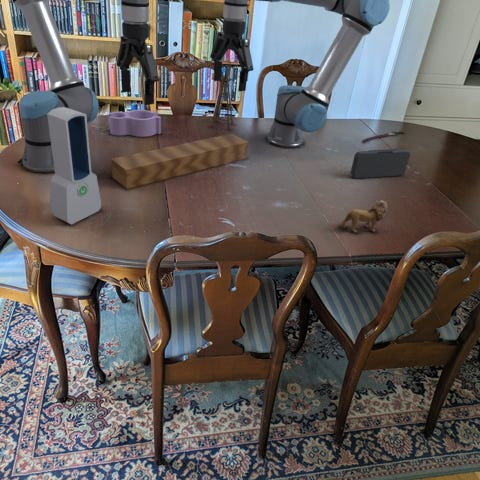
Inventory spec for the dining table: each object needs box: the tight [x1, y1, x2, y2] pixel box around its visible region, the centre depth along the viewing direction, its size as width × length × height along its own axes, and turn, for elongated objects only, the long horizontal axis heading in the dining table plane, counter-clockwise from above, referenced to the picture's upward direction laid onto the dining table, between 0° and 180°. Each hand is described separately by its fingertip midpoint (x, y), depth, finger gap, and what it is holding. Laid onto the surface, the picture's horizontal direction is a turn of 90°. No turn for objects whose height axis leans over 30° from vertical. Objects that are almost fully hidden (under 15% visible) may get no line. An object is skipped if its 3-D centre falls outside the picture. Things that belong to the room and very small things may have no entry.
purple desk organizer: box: [108, 109, 162, 138], centre depth 190 cm, size 20×12×7 cm, turn 109°
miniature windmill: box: [210, 54, 234, 130], centre depth 200 cm, size 9×8×30 cm
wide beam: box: [111, 133, 248, 190], centre depth 166 cm, size 51×10×7 cm, turn 131°
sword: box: [363, 130, 404, 143], centre depth 215 cm, size 31×3×1 cm, turn 126°
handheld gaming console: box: [350, 148, 411, 179], centre depth 174 cm, size 23×3×10 cm, turn 108°
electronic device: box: [47, 107, 102, 225], centre depth 126 cm, size 12×8×30 cm, turn 148°
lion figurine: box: [339, 199, 388, 234], centre depth 139 cm, size 15×5×9 cm, turn 110°
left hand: (137, 98), depth 142 cm, fingers open, 13 cm apart
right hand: (229, 85), depth 164 cm, fingers open, 13 cm apart
